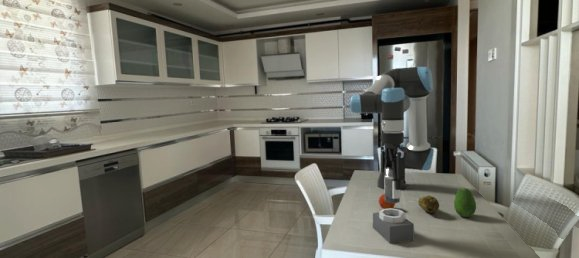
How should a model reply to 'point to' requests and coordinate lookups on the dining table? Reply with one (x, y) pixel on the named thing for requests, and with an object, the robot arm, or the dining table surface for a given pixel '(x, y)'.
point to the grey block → (393, 225)
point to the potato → (429, 203)
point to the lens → (389, 185)
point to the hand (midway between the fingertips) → (392, 195)
